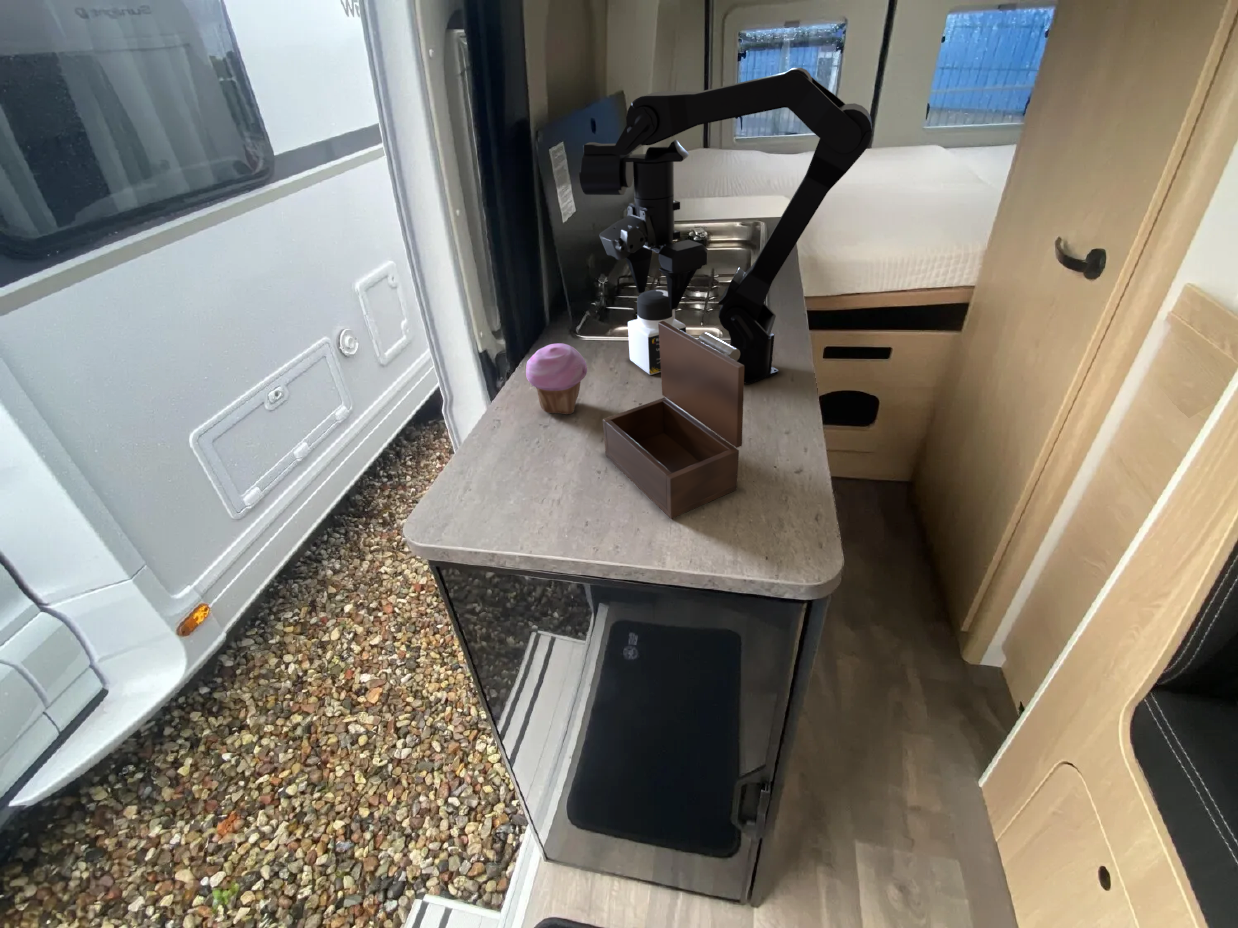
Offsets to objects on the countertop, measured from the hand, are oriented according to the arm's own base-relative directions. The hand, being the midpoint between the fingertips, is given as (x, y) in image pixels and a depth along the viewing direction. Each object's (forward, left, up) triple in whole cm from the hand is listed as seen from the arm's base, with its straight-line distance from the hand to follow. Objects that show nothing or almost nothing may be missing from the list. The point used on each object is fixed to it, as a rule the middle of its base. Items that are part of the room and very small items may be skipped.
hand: (656, 300), depth 96 cm
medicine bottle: (0, 0, -11) cm, 11 cm away
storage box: (+16, +27, -11) cm, 33 cm away
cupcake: (+20, +4, -11) cm, 23 cm away
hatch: (+12, +26, 0) cm, 29 cm away
